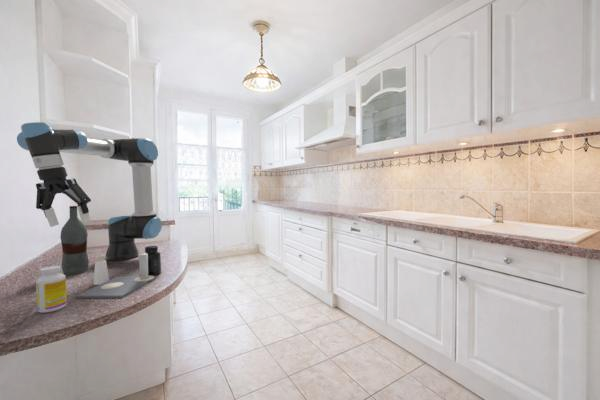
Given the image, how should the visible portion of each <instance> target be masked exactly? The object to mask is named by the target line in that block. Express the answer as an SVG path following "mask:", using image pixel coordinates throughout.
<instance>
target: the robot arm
mask: <svg viewBox="0 0 600 400" xmlns="http://www.w3.org/2000/svg"><path fill="white" fill-rule="evenodd" d="M20 128H21V132H19V133H18V134H17V136H16V141H17V144H18V146H19V147H20V148H22V149H23V150H25V151H29V155H30V157H31V159H32V162H33V164H34V168H35V169H37V170H36V173H37V175H38V179H39V180H40V181H43V182H39V183H36V184H35V186H36V203H35V208H36V209H37V210H41V211H43V213H44V216H45V219H46V220H47V222H48V224H49V227H50V228H52V227H55V226H59V225H60V223H59V220H58V218H57V214H56V212H55V209H54V208H53V206H52V205H53V201H54V200H55V197H56V195H57V194H63V195H66V196H67V197H68V198H69V199H70V200H72V201H73V202H74V203H76V204H77V205H76V206H77V212H78V215H79V217H80V221H81V222H82V223H83V224H87V223H88V222H91V221H92V220H91V217H90V215H89V213H90V210H89V207H88V205H87V204H89V203H91V201H92V199H91V198H90V197H89V195H88V194H86V192H85V191H84V190H83V188H82V187H81V186H80V185H79V183H78V181H77V180H76V178H74V177H73V178H67V177H68V173H67V169H66V167H65V166H64V165H65V164H64V161H63V158H62V155H61V153H64V154H65V153H68V154H75V155H76V154H79V155H89V156H98V157H101V158H104V159H110V160H117V161H123V162H128V165H129V166H131V171H132V175H131V176H132V188H133V189H132V190H133V204H134V205H133V207H134V212H132V214H128V215H127V214H126V215H119V216H112V217H110V218H109V219H108V224H107V226H108V228H107V231H108V246H107V250H106V253H105V254H104V255H105V260H106V261H114V262H115V261H123V260H124V261H125V260H129V259H133V257H134V258H137V257H139V250H138V248H137V245H136V242H135V240H138V239H139V240H140V239H141V240H142V239H143V240H144V239H145V240H148V239H155V238H156V237H157V236H159V235H160V232H161V231H162V227H163V223H162V220H161V218H160V217H157V213H156V212H155V211H154V206H153V205H154V203H153V202H154V201H153V185H152V167H153V165H154V161H156V160H157V159H158V157H159V150H158V147H157V146H156V143H154V141H153V140H151V139H149V138H140V137H138V138H119V139H108V138H107V139H106V138H103V139H93V138H88V137H87V135H86V134H85V132H83V131H81V130H78V129H53V127H51V124H50V123H49V122H41V121H40V122H37V121H36V122H35V121H34V122H27V123H22V124H21V126H20ZM136 256H137V257H136Z"/></svg>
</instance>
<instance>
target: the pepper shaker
mask: <svg viewBox="0 0 600 400" xmlns="http://www.w3.org/2000/svg"><path fill="white" fill-rule="evenodd" d="M105 255H106V254H98V255H96V256H95V258H96V261H95V262H94V271H93V272H94V273H93V283H92V284H93V286H98V285H100V284H102V283H105V282H107V281H109V280H110V278H109V277H110V276H109V271H108V263H107V260H106V259H105Z"/></svg>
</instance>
